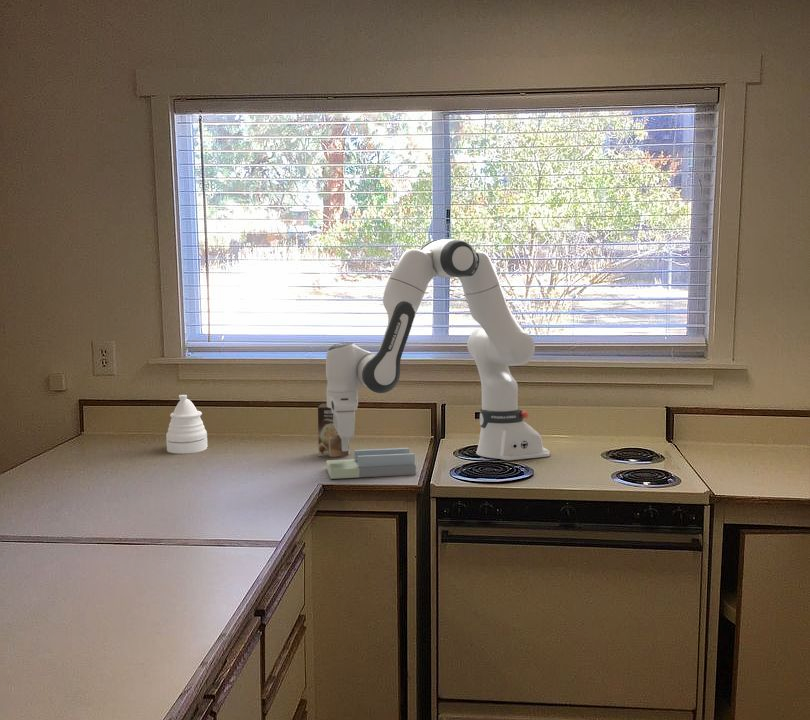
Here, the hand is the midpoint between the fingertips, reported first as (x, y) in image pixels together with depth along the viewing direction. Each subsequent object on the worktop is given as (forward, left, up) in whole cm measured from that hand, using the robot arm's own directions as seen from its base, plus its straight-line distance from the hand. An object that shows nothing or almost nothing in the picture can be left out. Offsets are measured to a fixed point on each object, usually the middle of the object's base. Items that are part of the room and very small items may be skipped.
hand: (343, 448), depth 223 cm
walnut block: (+1, 0, -2) cm, 2 cm away
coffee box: (0, -23, -7) cm, 24 cm away
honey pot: (+46, -43, -7) cm, 63 cm away
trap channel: (-8, 0, -7) cm, 10 cm away
